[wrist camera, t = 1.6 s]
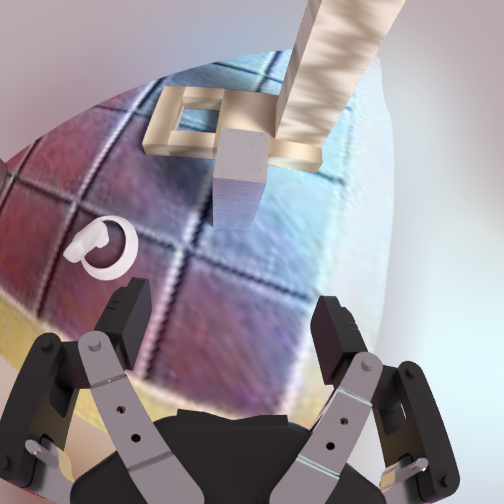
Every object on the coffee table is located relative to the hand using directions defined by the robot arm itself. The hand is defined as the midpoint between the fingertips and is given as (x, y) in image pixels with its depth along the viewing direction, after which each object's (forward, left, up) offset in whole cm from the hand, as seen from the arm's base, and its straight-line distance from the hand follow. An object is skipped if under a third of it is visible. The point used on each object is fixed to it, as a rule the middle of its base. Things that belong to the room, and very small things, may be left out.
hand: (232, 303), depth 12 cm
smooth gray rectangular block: (0, +12, -16) cm, 20 cm away
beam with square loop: (-1, +24, -16) cm, 29 cm away
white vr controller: (-14, +6, -16) cm, 22 cm away
